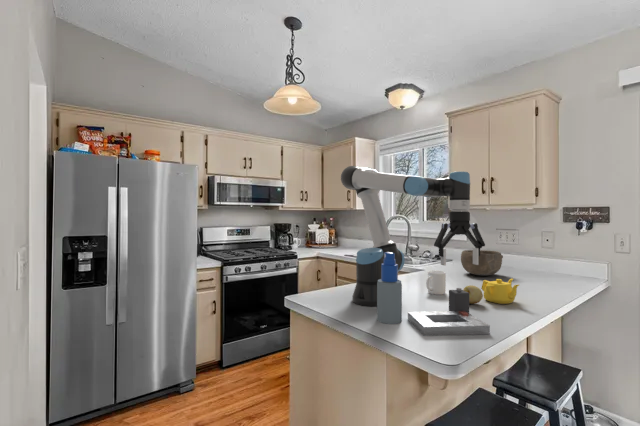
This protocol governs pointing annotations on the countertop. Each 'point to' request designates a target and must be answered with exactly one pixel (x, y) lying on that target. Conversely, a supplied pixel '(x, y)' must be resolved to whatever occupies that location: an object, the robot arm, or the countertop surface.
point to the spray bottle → (389, 292)
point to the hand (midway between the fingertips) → (459, 264)
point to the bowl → (482, 262)
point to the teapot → (499, 291)
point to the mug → (436, 282)
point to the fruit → (473, 294)
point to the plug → (458, 300)
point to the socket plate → (448, 323)
